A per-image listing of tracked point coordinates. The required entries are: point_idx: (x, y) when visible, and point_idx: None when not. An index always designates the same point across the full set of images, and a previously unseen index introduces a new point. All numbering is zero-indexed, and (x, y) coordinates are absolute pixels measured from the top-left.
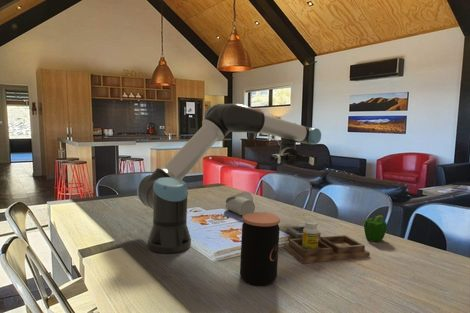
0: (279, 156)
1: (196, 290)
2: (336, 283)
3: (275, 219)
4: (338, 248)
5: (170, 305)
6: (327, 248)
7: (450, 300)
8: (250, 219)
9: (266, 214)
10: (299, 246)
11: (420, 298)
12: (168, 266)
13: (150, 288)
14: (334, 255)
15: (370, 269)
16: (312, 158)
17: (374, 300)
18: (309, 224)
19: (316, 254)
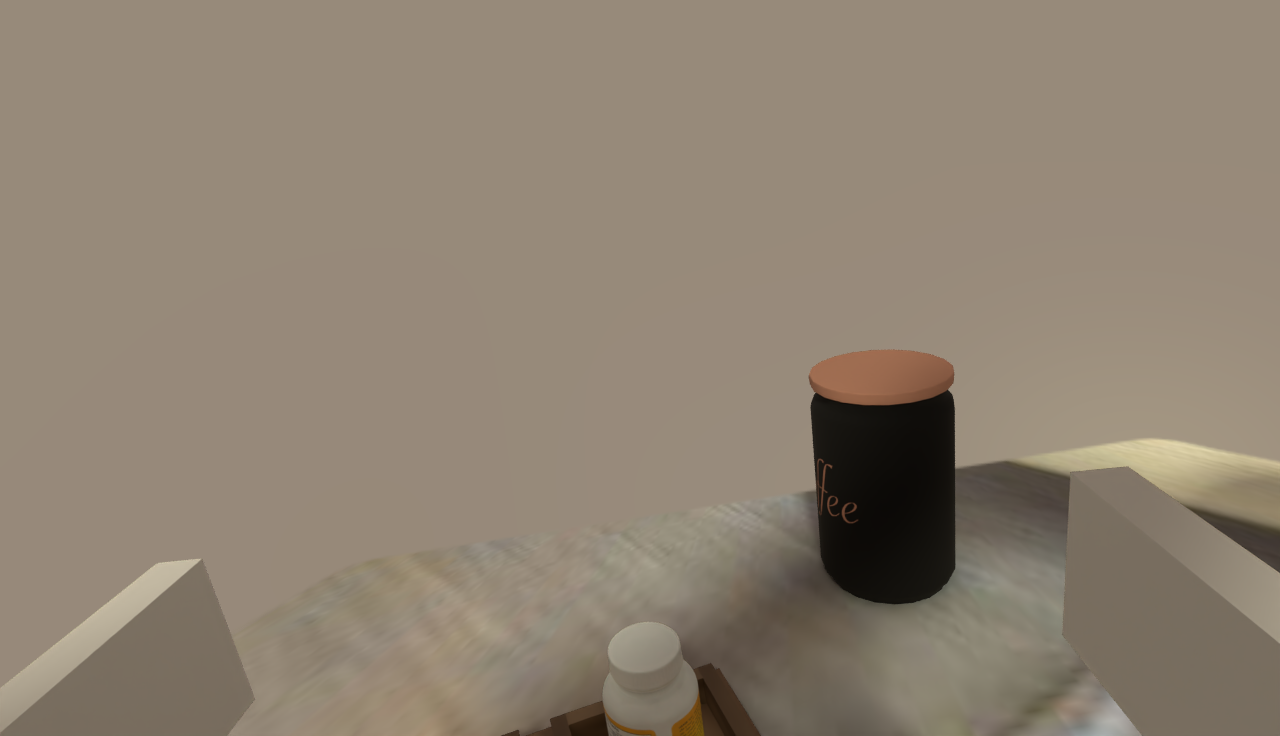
0: (1195, 550)
1: (1034, 499)
2: (627, 590)
3: (824, 371)
4: (516, 732)
5: (1048, 459)
6: (580, 712)
7: (350, 581)
8: (908, 355)
9: (868, 386)
10: (729, 707)
11: (424, 574)
12: None
13: (1166, 484)
14: (552, 731)
15: (440, 693)
16: (184, 568)
17: (557, 548)
18: (662, 625)
19: None
